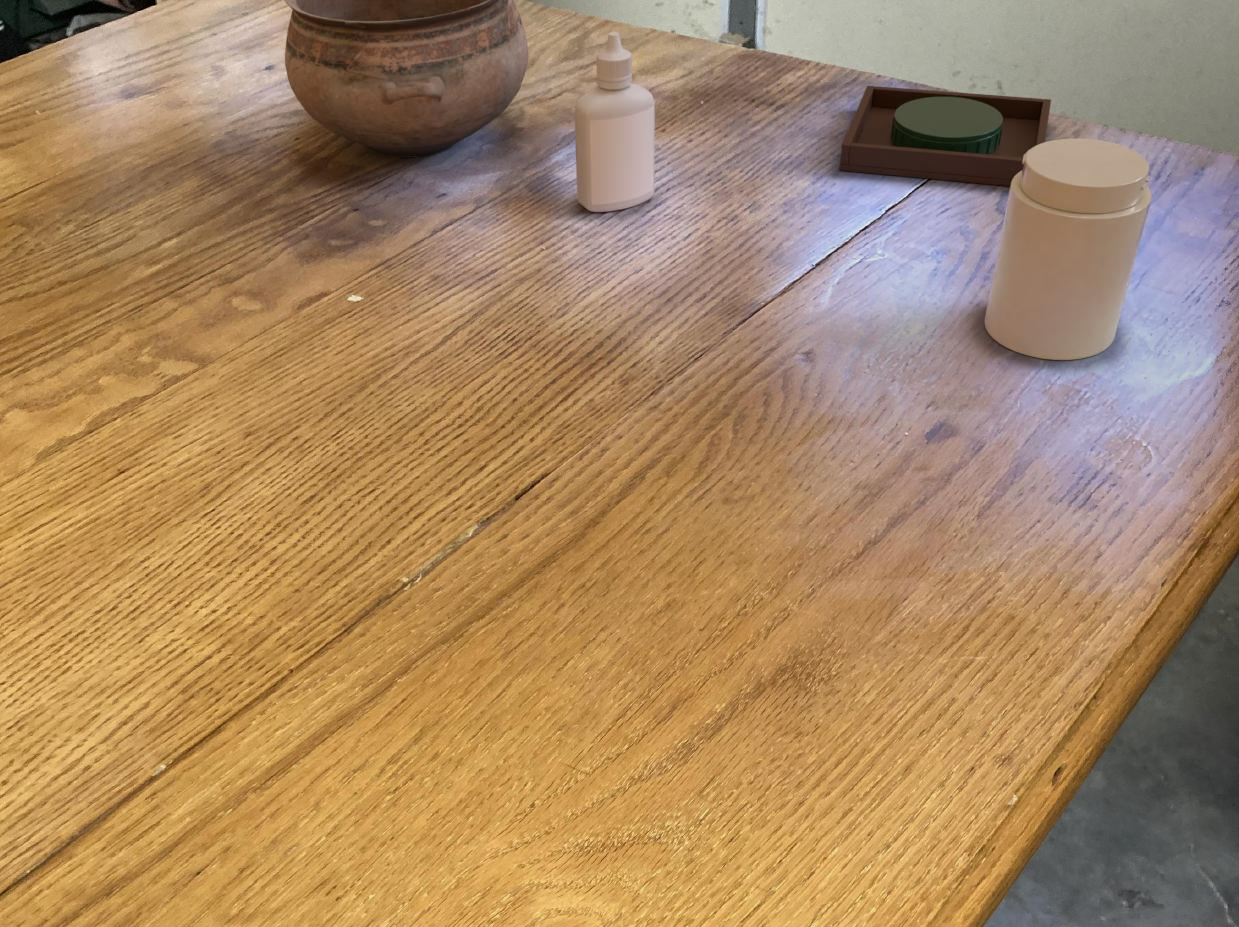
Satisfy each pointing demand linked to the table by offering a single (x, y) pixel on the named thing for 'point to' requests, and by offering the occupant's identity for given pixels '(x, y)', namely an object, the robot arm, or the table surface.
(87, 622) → the table surface
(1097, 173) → the jam jar
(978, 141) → the jar lid
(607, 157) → the eye dropper bottle
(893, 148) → the tray
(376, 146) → the cooking pot
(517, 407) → the table surface
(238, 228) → the table surface
